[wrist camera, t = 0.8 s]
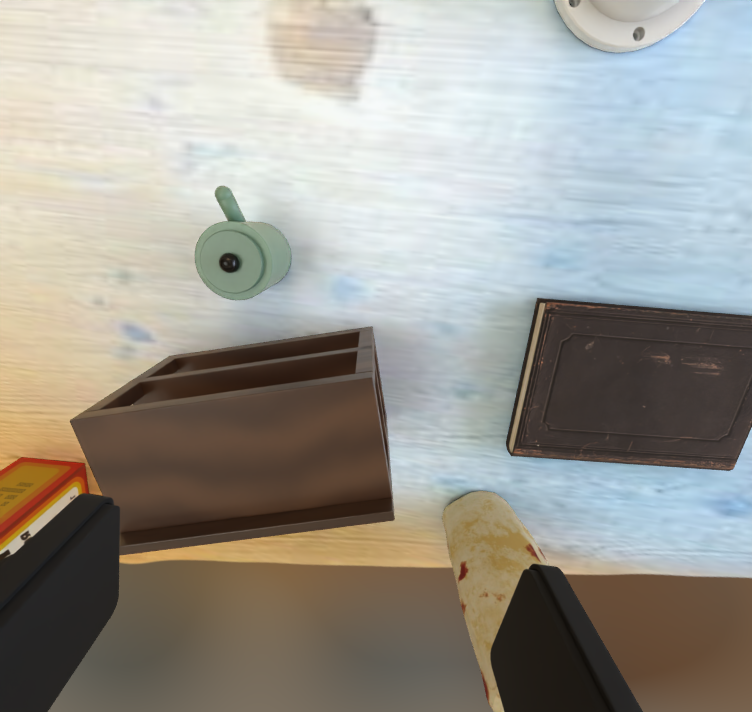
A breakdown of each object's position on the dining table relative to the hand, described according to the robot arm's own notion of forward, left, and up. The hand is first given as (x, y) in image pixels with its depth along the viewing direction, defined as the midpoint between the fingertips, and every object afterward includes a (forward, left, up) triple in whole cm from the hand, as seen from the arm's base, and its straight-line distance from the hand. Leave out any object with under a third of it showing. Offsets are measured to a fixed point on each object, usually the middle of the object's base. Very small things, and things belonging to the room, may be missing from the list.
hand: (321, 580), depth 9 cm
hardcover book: (+11, +26, -29) cm, 41 cm away
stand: (+6, -9, -29) cm, 31 cm away
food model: (+24, +10, -29) cm, 40 cm away
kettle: (-8, -8, -29) cm, 31 cm away
